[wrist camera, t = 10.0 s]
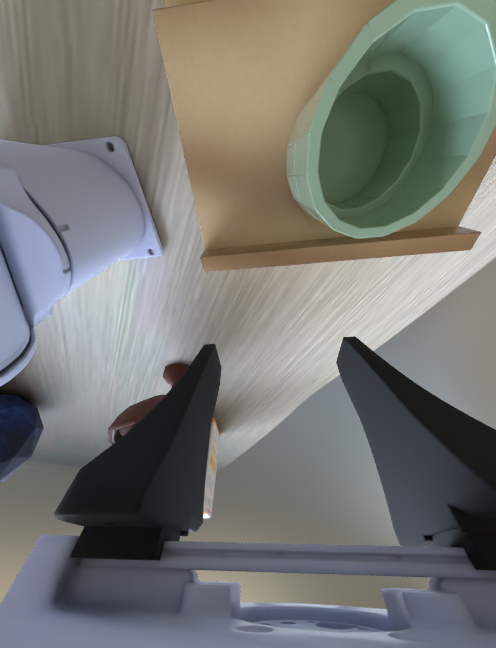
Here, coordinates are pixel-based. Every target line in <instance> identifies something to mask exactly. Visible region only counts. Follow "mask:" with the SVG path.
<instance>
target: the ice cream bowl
mask: <svg viewBox="0 0 496 648" xmlns="http://www.w3.org/2000/svg"><path fill="white" fill-rule="evenodd" d="M188 367H189V366H188V365H183V364H173V365H170V366H168V367H165V370H164V374H163V378H164V379H165V380H166V382H167V383H168V384H170V385H171V386H172V388H173V386H174V385H175V384H176V383H177V381H178V380H179V379H180V378H181V377H182V375H183V374H184V373H185V371H186V370H187V369H188ZM172 388H171V389H172ZM165 396H166V395H158V396H155V397H152V398H149V399H146V400H143V401H141V402H139V403H137V404H134V405H132V406H130V407H128V408H127V409H126V410H125V411H124V412H122V413H121V414H120V415H119V416H118V417H117V418H116V420H115V421H114V422H113V423H112V425H111V426H110V427H109V428H108V442H110V443H111V444H114V443H115V442H117V441H118V440H119V439H120V438H121V437H122V436H124V435H125V434H126V433H127V432H128V431H129V430H131V429H132V428H133V427H134V426H135V425H136V424H137V423H139V422H140V421H141V420H142V419H143V418H144V417H145V416H146V415H147V414H148V413H149V412H150V411H151V410H152V409H153V408H154V407H155V406H156V405H157V404H158V403H159V402H160V401H161V400H162V399H163V398H164V397H165Z"/></svg>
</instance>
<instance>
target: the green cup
mask: <svg viewBox="0 0 496 648" xmlns="http://www.w3.org/2000/svg"><path fill="white" fill-rule="evenodd" d="M495 125H496V0H394V1H393V2H391V3H390V4H389V5H387V6H386V7H385V8H384V9H382V10H381V11H380V12H378V13H377V14H376V15H374V16H373V17H372V18H371V19H369V20H368V22H367V23H366V24H365V25H364V26H363V27H362V29H361V30H360V31H359V32H358V34H357V35H356V36H355V38H354V39H353V40H352V42H351V43H350V44H349V46H348V47H347V48H346V50H345V51H344V52H343V53H342V55H341V56H340V57H339V59H338V60H337V61H336V63H335V64H334V65H333V67H332V68H331V69H330V71H329V72H328V73H327V75H326V76H325V77H324V79H323V80H322V81H321V82H320V84H319V85H318V86H317V88H316V89H315V90H314V92H313V93H312V95H311V96H310V98H309V99H308V101H307V102H306V104H305V105H304V107H303V108H302V110H301V111H300V112H299V115H298V117H297V118H296V121H295V124H294V127H293V130H292V134H291V137H290V140H289V143H288V148H287V170H286V174H287V179H288V182H289V186H290V189H291V192H292V195H293V197H294V199H295V200H296V201H297V203H298V204H299V205H300V206H301V207H302V208H303V209H304V211H305V212H307V213H308V214H310V215H311V216H313V217H314V218H316V219H317V220H319V221H320V222H322V223H323V224H325V225H326V226H328V227H329V228H331V229H332V230H334V231H336V232H339V233H342V234H344V235H347V236H350V237H353V238H357V239H360V238H371V237H382V236H386V235H389V234H391V233H393V232H395V231H397V230H400V229H402V228H404V227H406V226H408V225H411V224H413V223H415V222H416V221H418V220H419V219H421V218H422V217H423V216H424V215H426V214H427V213H428V212H429V211H430V210H432V209H433V208H434V207H435V206H437V205H438V204H439V203H440V202H442V201H443V200H444V199H445V198H447V197H448V195H450V194H451V192H452V191H453V190H454V189H455V187H456V186H457V185H458V184H459V182H460V181H461V180H462V179H463V177H464V176H465V175H466V174H467V172H468V171H469V170H470V169H471V167H472V166H473V165H474V164H475V162H476V161H477V160H478V159H479V156H480V155H481V154H482V152H483V150H484V148H485V146H486V144H487V142H488V140H489V137H490V135H491V133H492V131H493V129H494V127H495Z"/></svg>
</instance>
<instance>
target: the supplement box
mask: <svg viewBox="0 0 496 648" xmlns="http://www.w3.org/2000/svg"><path fill="white" fill-rule="evenodd" d="M219 441H220V433H219V429H218V426H217V424H216V421H215V418H213V419H212V425H211V431H210V440H209V449H208V459H207V469H206V481H205V494H204V509H203V518H210V517H211V511H212V504H213V494H214V486H215V476H216V467H217V459H218V450H219Z"/></svg>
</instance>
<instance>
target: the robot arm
mask: <svg viewBox="0 0 496 648" xmlns="http://www.w3.org/2000/svg"><path fill="white" fill-rule="evenodd" d="M110 143H112V145H113V146H114V151H113V152H112V151H111V150H110V148H109V144H110ZM150 249H152V250H153V251H154V253H151V251H150ZM162 254H163V248H162V245H161V242H160V239H159V236H158V234H157V231H156V228H155V225H154V222H153V219H152V217H151V214H150V211H149V208H148V205H147V202H146V199H145V197H144V194H143V191H142V188H141V185H140V182H139V180H138V177H137V174H136V171H135V168H134V165H133V163H132V160H131V157H130V154H129V151H128V148H127V146H126V144H125V142H124V141H123V140H122V139H121V138H120V137H117V136H109V137H102V138H94V139H87V140H79V141H72V142H64V143H57V144H49V145H36V144H29V143H22V142H14V141H7V140H0V386H2V385H3V384H5V383H6V382H8V381H10V380H11V379H12V378H13V377H15V376H16V375H17V374H18V373H19V372H21V371H22V370H23V369H24V367H25V366H26V365H27V364H28V363H29V362H30V360H31V359H32V357H33V355H34V353H35V350H36V347H37V337H36V334H35V331H34V328H33V327H34V326H35V325H37V324H38V323H40V322H41V321H43V320H44V319H45V318H47V317H48V316H50V315H51V314H52V311H51V308H52V305H53V304H54V303H55V302H56V301H58V300H59V299H61V298H62V297H64V296H66V295H67V294H69V293H70V292H72V291H73V290H75V289H76V288H78V287H79V286H81V285H82V284H84V283H85V282H87V281H88V280H90V279H92V278H93V277H95V276H96V275H98V274H99V273H101V272H102V271H104V270H105V269H107V268H108V267H110V266H111V265H113V264H114V263H116V262H118V261H119V260H128V259H139V258H150V257H159V256H161V255H162ZM336 363H337V366H338V369H339V373H340V376H341V378H342V381H343V383H344V385H345V388H346V390H347V392H348V394H349V396H350V398H351V401H352V403H353V405H354V407H355V409H356V411H357V414H358V416H359V418H360V420H361V423H362V425H363V428H364V430H365V433H366V436H367V439H368V442H369V445H370V448H371V451H372V454H373V457H374V460H375V463H376V466H377V470H378V473H379V476H380V480H381V483H382V486H383V490H384V493H385V497H386V501H387V504H388V508H389V512H390V515H391V520H392V524H393V528H394V531H395V533H396V536H397V539H398V541H399V544H400V545H401V546H373V545H371V546H370V545H326V544H282V543H236V542H234V543H233V542H188V541H186V542H185V541H179V539H180V536H188V532H196V531H197V530H198V529H199V527H200V526H201V525H202V523H203V509H204V494H205V481H206V469H207V459H208V449H209V440H210V431H211V425H212V419H213V414H214V410H215V405H216V400H217V395H218V390H219V385H220V377H221V364H220V361H219V357H218V353H217V349H216V346H215V344H205V345H204V346H203V347H202V349H201V350H200V352H199V353H198V355H197V356H196V358H195V359H194V360H193V362H192V363H191V365H190V366H189V367H188V369H187V370H186V371H185V373H184V374H183V375H182V377H181V378H180V379H179V380H178V381H177V383H176V384H175V385H174V386H173V388H172V389H171V390H170V391H169V392H168V393H167V395H166V396H165V397H164V398H163V399H162V400H161V401H160V402H159V403H158V404H157V405H156V406H155V407H154V408H153V409H152V410H151V411H150V412H149V413H148V414H147V415H146V416H145V417H144V418H143V419H142V420H141V421H140V422H139V423H137V424H136V425H135V426H134V427H133V428H132V429H131V430H129V431H128V432H127V433H126V434H125V435H124V436H122V437H121V438H120V439H119V440H118V441H117V442H115V443H114V444H113V445H112V446H110V447H109V448H108V449H106V450H105V451H104V452H103V453H101V454H100V455H99V456H97V457H96V458H95V459H93V460H92V461H91V462H89V463H88V464H87V465H85V466H84V467H83V468H81V469H80V471H79V472H78V474H77V476H76V477H75V479H74V480H73V482H72V484H71V486H70V487H69V489H68V491H67V492H66V494H65V496H64V498H63V499H62V501H61V503H60V504H59V506H58V508H57V509H56V511H55V513H54V516H55V518H56V519H58V520H62V521H65V522H69V523H73V524H77V525H81V526H85V527H84V529H83V531H82V533H81V535H80V536H65V535H61V536H60V535H43V536H41V537H40V538H39V539H38V541H37V543H36V544H35V546H34V547H33V549H32V551H31V553H30V554H29V556H28V558H27V559H26V561H25V563H24V564H23V566H22V568H21V570H20V571H19V573H18V575H17V576H16V578H15V580H14V581H13V583H12V585H11V586H10V588H9V590H8V592H7V593H6V595H5V597H4V598H3V600H2V602H1V603H0V648H496V430H495V429H493V428H491V427H489V426H487V425H485V424H483V423H482V422H480V421H478V420H476V419H474V418H472V417H470V416H468V415H467V414H465V413H463V412H462V411H460V410H458V409H456V408H454V407H453V406H451V405H449V404H448V403H446V402H444V401H442V400H441V399H439V398H438V397H436V396H435V395H433V394H431V393H430V392H428V391H427V390H425V389H423V388H422V387H420V386H419V385H417V384H416V383H414V382H413V381H412V380H410V379H409V378H407V377H406V376H405V375H403V374H402V373H400V372H399V371H398V370H396V369H395V368H394V367H392V366H391V365H390V364H388V363H387V362H386V361H385V360H383V359H382V358H381V357H380V356H378V355H377V354H376V353H375V352H373V351H372V350H371V349H370V348H369V347H367V346H366V345H365V344H364V343H362V342H361V341H360V340H359V339H357V338H356V337H343V341H342V344H341V348H340V351H339V355H338V358H337V362H336ZM419 546H429V547H419ZM194 570H218V571H247V572H280V573H309V574H310V573H311V574H340V575H341V574H342V575H371V576H402V577H432V578H431V579H430V581H429V589H428V590H420V589H403V588H382V591H381V592H382V595H383V598H384V602H385V605H386V608H387V609H373V608H360V607H347V606H333V605H318V604H317V605H316V604H297V603H296V604H295V603H240V584H239V583H233V582H217V581H216V582H215V581H210V582H209V581H206V582H205V581H204V582H200V581H199V580H198V576H197V573H196V571H194Z"/></svg>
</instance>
